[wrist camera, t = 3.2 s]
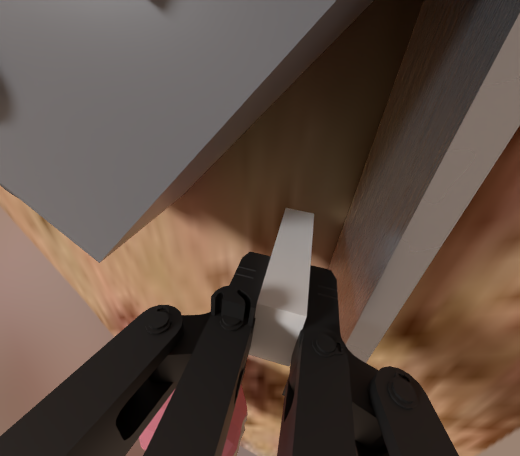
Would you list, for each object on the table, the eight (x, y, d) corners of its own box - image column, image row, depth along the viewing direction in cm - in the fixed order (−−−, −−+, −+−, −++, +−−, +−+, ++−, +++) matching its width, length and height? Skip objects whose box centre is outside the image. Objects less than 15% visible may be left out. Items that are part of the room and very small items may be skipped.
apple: (250, 394, 27) (217, 531, 19) (178, 368, 28) (117, 490, 20) (269, 347, 22) (237, 509, 14) (181, 317, 23) (98, 453, 14)
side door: (442, -70, 8) (764, -479, 2) (508, -66, 8) (1075, -513, 2) (318, 286, 17) (315, 396, 11) (347, 293, 17) (361, 409, 11)
